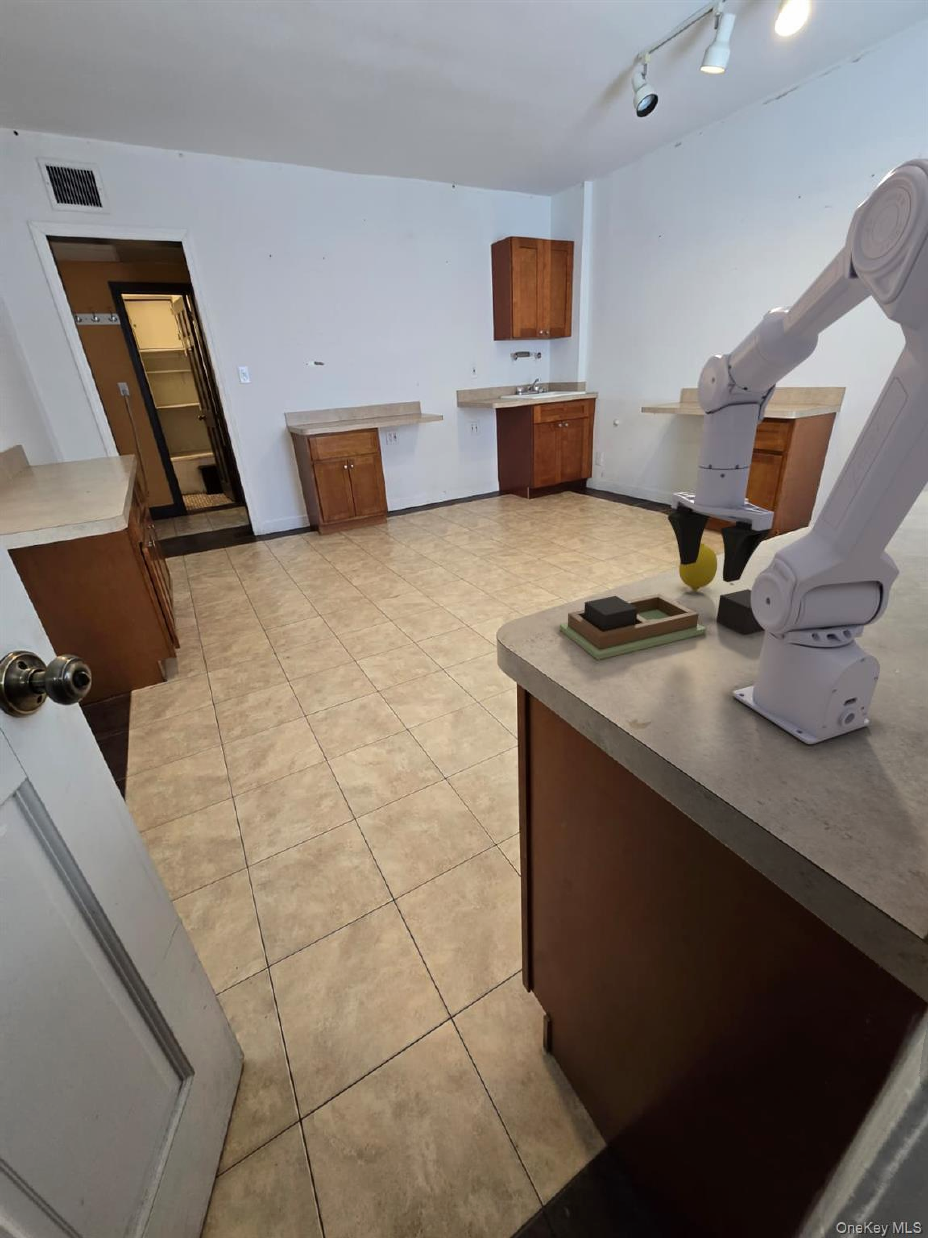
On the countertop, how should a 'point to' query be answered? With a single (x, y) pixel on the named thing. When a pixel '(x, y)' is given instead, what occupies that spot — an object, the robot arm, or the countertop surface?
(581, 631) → the dock
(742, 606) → the black block
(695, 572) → the lemon
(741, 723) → the countertop surface
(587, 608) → the pad
